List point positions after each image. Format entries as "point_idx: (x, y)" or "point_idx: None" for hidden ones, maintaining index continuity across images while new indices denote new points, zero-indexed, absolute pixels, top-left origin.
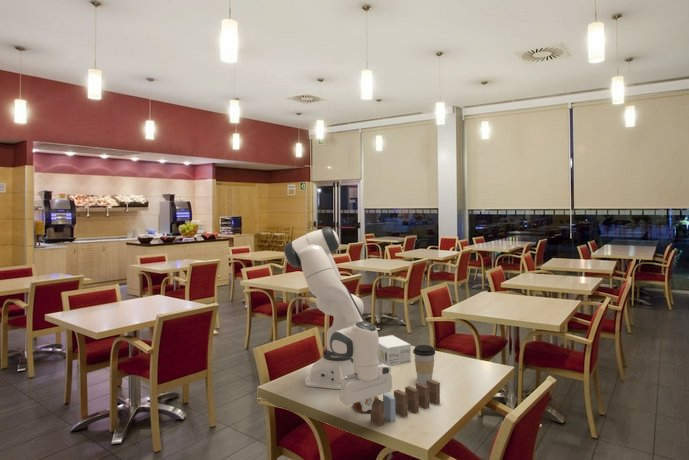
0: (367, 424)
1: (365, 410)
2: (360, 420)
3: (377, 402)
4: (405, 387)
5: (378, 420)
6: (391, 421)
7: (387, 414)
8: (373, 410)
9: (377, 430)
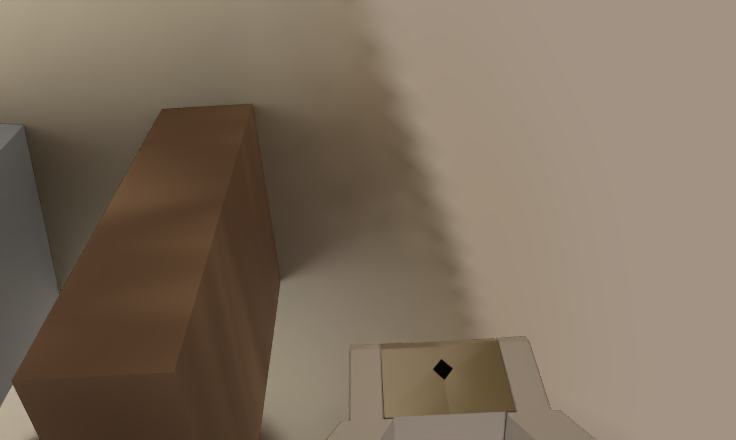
0: (373, 230)
1: (520, 348)
2: (386, 341)
3: (189, 426)
4: None
5: (246, 167)
6: (7, 126)
7: (8, 247)
8: (250, 352)
9: (355, 18)
